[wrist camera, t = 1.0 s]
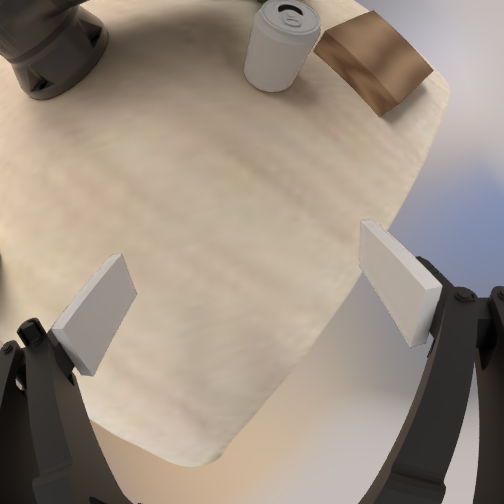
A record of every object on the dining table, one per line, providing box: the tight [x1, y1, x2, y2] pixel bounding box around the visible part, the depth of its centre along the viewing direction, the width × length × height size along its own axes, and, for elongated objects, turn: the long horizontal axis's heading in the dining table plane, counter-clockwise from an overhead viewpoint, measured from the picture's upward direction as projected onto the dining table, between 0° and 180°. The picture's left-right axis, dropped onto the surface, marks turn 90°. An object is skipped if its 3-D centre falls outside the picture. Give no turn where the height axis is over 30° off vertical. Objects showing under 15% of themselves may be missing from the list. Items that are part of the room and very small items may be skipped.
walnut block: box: [314, 11, 434, 117], centre depth 29 cm, size 13×13×5 cm
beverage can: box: [244, 0, 321, 92], centre depth 23 cm, size 6×6×12 cm
